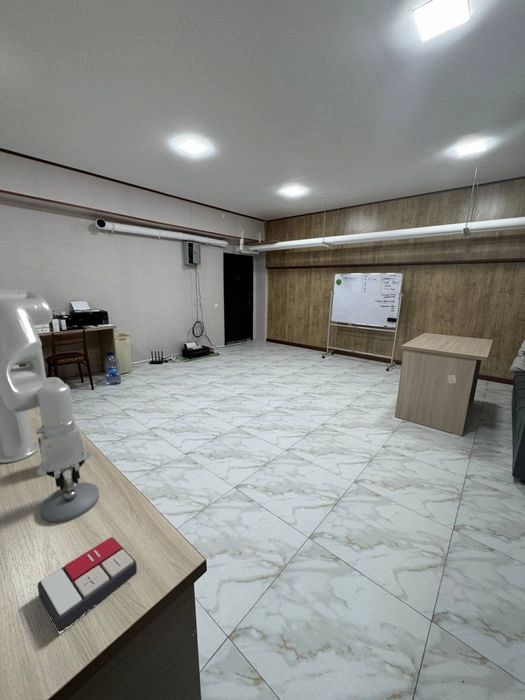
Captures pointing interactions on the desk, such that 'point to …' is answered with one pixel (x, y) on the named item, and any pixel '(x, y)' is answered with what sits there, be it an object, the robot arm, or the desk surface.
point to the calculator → (85, 582)
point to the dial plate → (69, 503)
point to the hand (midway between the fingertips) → (68, 483)
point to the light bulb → (68, 482)
